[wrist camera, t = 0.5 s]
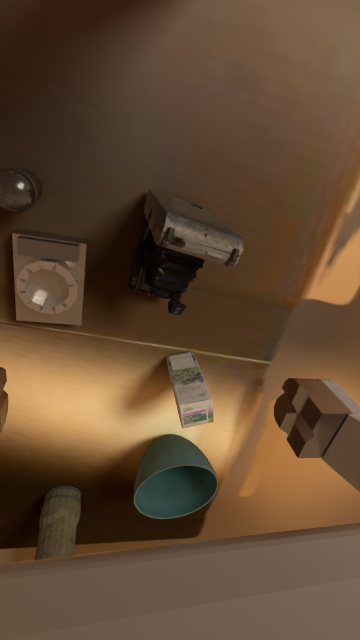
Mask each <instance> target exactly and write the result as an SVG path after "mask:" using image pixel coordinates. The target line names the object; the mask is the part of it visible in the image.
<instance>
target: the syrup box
mask: <svg viewBox="0 0 360 640" xmlns="http://www.w3.org/2000/svg"><path fill="white" fill-rule="evenodd" d="M166 358H167V365H168V371H169V377H170V381H171V384H172V388H173V392H174V396H175V400H176V404H177V409H178V413H179V417H180V422H181V425H182V428H187V427H192V426H196V425H201V424H205V423H209V422H213V405H212V398H211V396H210V393H209V391H208V388H207V386H206V383H205V381H204V378H203V376H202V373H201V371H200V368H199V366H198V363H197V361H196V358H195V356H194V353H193V351H190V352H186V353H181V354H176V355H170V356H167V357H166Z"/></svg>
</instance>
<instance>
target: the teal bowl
mask: <svg viewBox="0 0 360 640" xmlns="http://www.w3.org/2000/svg"><path fill="white" fill-rule="evenodd" d="M217 488H218V479H217V476H216V474H215V471H214V469H213V467H212V466H211V464H210V462H209V461H208V459H207V458H206V456H205V455H204V454H203V452H202V451H201V450H200V449H199V448H198V447H197V446H196V445H195V444H193V443H192V442H191V441H189V440H187V439H185V438H183V437H181V436H179V435H174V434H169V435H164V436H162V437H159V438H158V439H156V440H155V441H154V442H153V443H152V444H151V446H150V447H149V448H148V449H147V451H146V452H145V454H144V456H143V458H142V460H141V462H140V465H139V467H138V471H137V474H136V479H135V486H134V504H135V506H136V508H137V509H138V511H140V512H141V513H142V514H144V515H146V516H148V517H152V518H158V519H169V518H176V517H181V516H184V515H187V514H190V513H192V512H194V511H196V510H198V509H200V508H201V507H203V506H204V505H206V504H207V503H208V502H209V501H210V500H211V499H212V498H213V496H214V495H215V493H216V491H217Z"/></svg>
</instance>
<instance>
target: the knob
mask: <svg viewBox="0 0 360 640" xmlns="http://www.w3.org/2000/svg"><path fill="white" fill-rule="evenodd" d="M41 193H42V187H41V183H40V181H39V179H38V178H37V176H36V175H35V174H33V173H32V172H31V171H29V170H26V169H22V168H18V169H5V170H0V206H1V207H2V208H4V209H5V210H8V211H11V212H22V211H24V210H26V209H28V208H29V207H30V206H31V205H32V204H33V203H35V202H36V201H37V200H38V199H39V198H40V196H41Z"/></svg>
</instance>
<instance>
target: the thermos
mask: <svg viewBox="0 0 360 640" xmlns="http://www.w3.org/2000/svg"><path fill="white" fill-rule="evenodd" d="M80 499H81V492H80V491H79V490H78V489H76V488H75V487H71V486H59V487H55V488H53V489H51V490H49V491H48V492H47V493H46V495H45V499H44V504H43V506H42V510H41V515H40V520H39V528H40V533H39V539H38V544H37V549H36V554H35V559H34V560H39V559H48V558H57V557H65V556H74V547H75V536H76V526H77V523H78V521H79V518H80V509H81V504H80Z"/></svg>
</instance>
